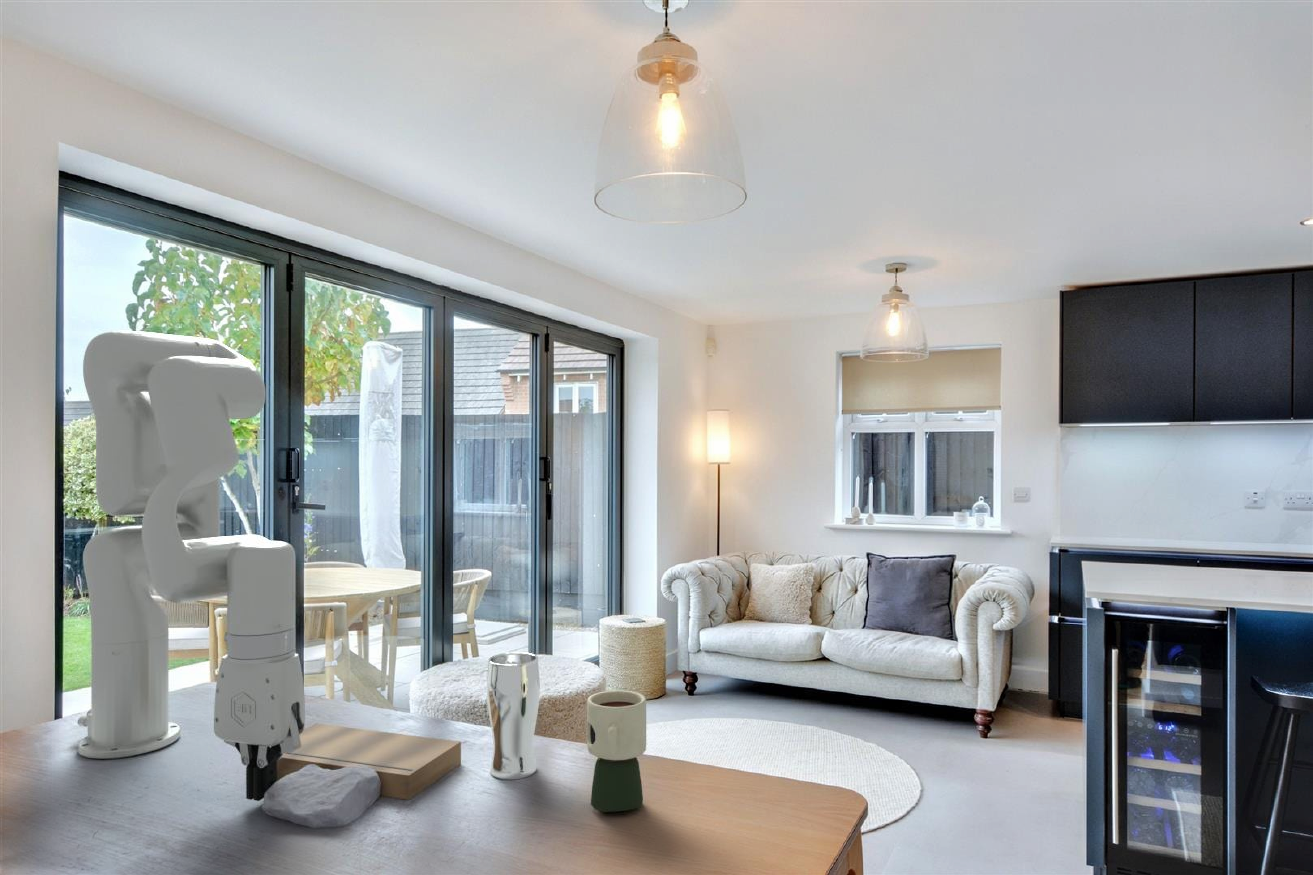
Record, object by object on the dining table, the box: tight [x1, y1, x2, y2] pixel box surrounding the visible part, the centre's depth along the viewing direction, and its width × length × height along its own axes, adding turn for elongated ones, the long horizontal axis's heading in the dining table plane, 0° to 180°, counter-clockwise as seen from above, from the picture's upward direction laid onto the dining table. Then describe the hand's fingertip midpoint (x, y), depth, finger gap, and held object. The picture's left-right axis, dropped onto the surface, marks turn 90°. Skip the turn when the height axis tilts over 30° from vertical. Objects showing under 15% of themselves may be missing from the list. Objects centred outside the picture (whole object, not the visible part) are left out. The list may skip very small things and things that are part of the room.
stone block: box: [261, 764, 381, 829], centre depth 99 cm, size 12×5×10 cm
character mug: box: [586, 689, 647, 813], centre depth 99 cm, size 11×7×13 cm, turn 177°
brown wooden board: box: [270, 723, 462, 801], centre depth 111 cm, size 24×12×3 cm, turn 72°
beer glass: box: [486, 651, 541, 781], centre depth 110 cm, size 7×7×15 cm
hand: (261, 795), depth 100 cm, fingers closed
